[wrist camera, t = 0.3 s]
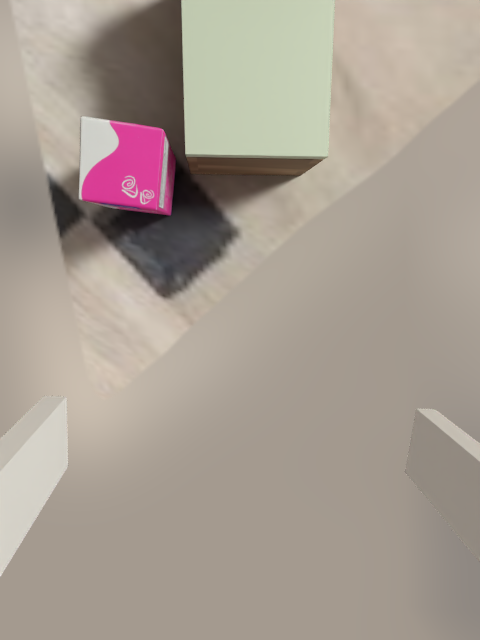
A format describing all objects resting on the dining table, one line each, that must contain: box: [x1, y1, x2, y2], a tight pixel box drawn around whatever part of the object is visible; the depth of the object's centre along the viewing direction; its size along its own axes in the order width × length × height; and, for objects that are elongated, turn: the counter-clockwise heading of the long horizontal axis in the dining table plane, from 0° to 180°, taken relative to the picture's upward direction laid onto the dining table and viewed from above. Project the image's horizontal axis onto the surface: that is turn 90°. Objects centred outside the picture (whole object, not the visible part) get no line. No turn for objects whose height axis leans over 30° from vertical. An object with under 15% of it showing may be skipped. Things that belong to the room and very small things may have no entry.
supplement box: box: [79, 116, 176, 216], centre depth 33 cm, size 6×6×12 cm
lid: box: [181, 0, 335, 159], centre depth 27 cm, size 16×11×4 cm
